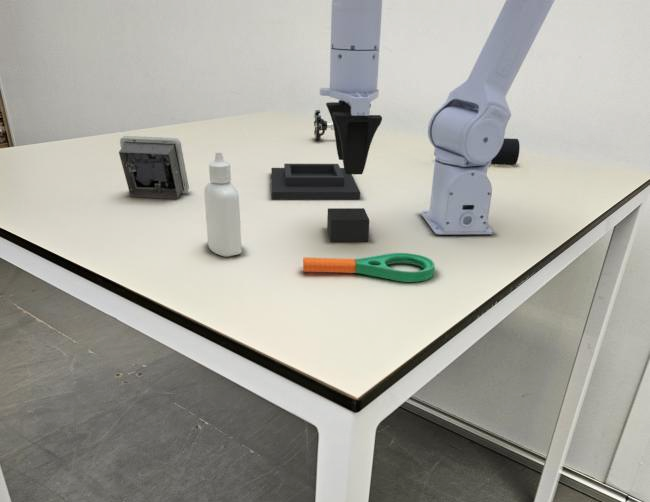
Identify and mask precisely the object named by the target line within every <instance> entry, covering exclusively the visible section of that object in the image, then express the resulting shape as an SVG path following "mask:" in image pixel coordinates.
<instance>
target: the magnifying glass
mask: <svg viewBox="0 0 650 502" xmlns="http://www.w3.org/2000/svg"><path fill="white" fill-rule="evenodd" d="M391 264H410V265H415V266H418V267H421V268H422V269H421V270H415V271H413V270H412V271H410V270H409V271H408V270H399V269H394V268H391V267H389V266H388V265H391ZM302 270H303V272H308V273H309V272H312V273H313V272H314V273H317V272H318V273H343V274H345V273H346V274H354V273H356V274H361V275H365V276H373V277H377V278H382V279H386V280H390V281H391V280H392V281H395V282H404V283H414V282H415V283H416V282H423V281H428V280H429V279H431V278H432V277H433V276H434V274H435V263H434V261H433V260H432V259H431V258H429V257H427V256H424V255H422V254H421V255H420V254H416V253H411V252H410V253H409V252H390V253H384V254H379V255H372V256H366V257H359V258H338V257H337V258H335V257H334V258H333V257H307V256H306V257H305V256H304V257H303V258H302Z"/></svg>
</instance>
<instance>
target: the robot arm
mask: <svg viewBox="0 0 650 502" xmlns="http://www.w3.org/2000/svg"><path fill="white" fill-rule="evenodd" d="M554 2H555V0H505V2H504V4H503V5H502V8H501V10H500V11H499V14H498V16H497V18H496V20H495V22H494V24H493V26H492V28H491V30H490V32H489V34H488V37H487V38H486V41H485V43H484V45H483V47H482V48H481V51H480V53H479V55H478V57H477V59H476V61H475V63H474V65H473V67H472V69H471V71H470V74H469V75H468V77H467V79H466V80H465V81H464V82H463V83H461V84H460V85H457V87H455V88H454V89H453V90H452V91H450V92H449V94H448V96H447V98H446V100H445V101H444V103H443V104H442V105H441V106H440V107H439V108H438V109H436V111H434V113H433V114H432V115H431V117H430V120H429V122H428V127H427V137H428V140H429V143H430V144H431V145H432V147H433V148H434V151H433V156H434V163H433V164H434V165H433V173H432V185H431V191H430V193H431V194H430V202H429V210H421V211H420V215H421V216H422V217H423V219H424V220H425V222H426V223H427V224H428V226H429V227H430V228H431V230H432V231H433V232H434V234H435V235H439V236H441V235H442V236H443V235H444V236H445V235H492V234H493V230H492V228H491V227H490V226H489V225H488V221H489V213H490V209H491V201H492V195H493V186H492V182H491V180H490V178H489V177H488V169H489V166H491V165H492V164H491V160H492V159H493V158H494V157H495V156H496V155H497V154H498V152H499V151H500V149H501V147H502V144H503V141H504V138H505V134H506V133H505V132H506V128H507V126H508V123H509V121H510V119H511V117H512V111H511V109H510V106H509V104H508V102H507V99H506V97H507V94H509V93H508V92H509V91H510V89H511V87H512V85H513V83H514V81H515V79H516V77H517V75H518V73H519V72H520V69H521V68H522V65H523V64H524V61H525V60H526V57H527V55H528V53H529V51H530V50H531V48H532V45H533V43H534V42H535V40H536V37H537V36H538V34H539V32H540V30H541V28H542V26H543V24H544V23H545V20H546V18H547V16H548V15H549V12H550V10H551V9H552V6H553V4H554ZM382 11H383V0H331V11H330V13H331V15H330V57H329V60H330V62H329V87H320V88H319V95H320V96H323V97H330V98H332V99H335V100H338V101H336V102H335V101H333V102H332V101H330V102H329V101H328V102H326V103H325V105H326V108H327V110H328V113H329V115H330V118H331V121H332V122H333V126H334V130H333V132H334V138H335V146H336V153H337V157H338V160H339V161H342V165H343V168H344V170H345V173H346V174H352V175H363V174H364V171H365V168H366V163H367V160H368V155H369V151H370V148H371V145H372V141H373V139H374V137H375V134H376V132H377V130H378V128H379V127H380V125H381V124H382V121H383V117H382V116H381V114H370V113H371V112H370V111H371V106H372V103H371V102H373V101H374V100H377V99H378V98H379V89H378V83H379V82H378V79H379V66H380V65H379V64H380V46H381V31H382V30H381V29H382V13H383V12H382Z"/></svg>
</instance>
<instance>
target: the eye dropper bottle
mask: <svg viewBox="0 0 650 502" xmlns="http://www.w3.org/2000/svg"><path fill="white" fill-rule="evenodd" d="M208 170H209V171H208V173H209V181H210V182H209V183H207V184H206V185H205V186H204V191H203V192H204V194H203V195H204V205H205V206H204V207H205V209H204V210H205V221H206V224H205V225H206V234H207V235H206V237H207V246H208V248H209V250H210V251H211V252H213V253H214V254H217V255H218V256H221V257H225V258H226V257H227V258H228V257H233V256H238V255H240V254H242V230H241V210H240V209H241V208H240V197H239V192H238V190H237V187H236V186H235V185H234V184H233V183H232V182H231V180H232V177H231V176H232V175H231V164H230V162H227V161H226V160H225V159H224V155H223V151H221V150H220V151H219V150H217V151H215V155H214V160H213V161H212V162H210V163H208Z"/></svg>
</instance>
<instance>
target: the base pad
mask: <svg viewBox="0 0 650 502" xmlns="http://www.w3.org/2000/svg"><path fill="white" fill-rule="evenodd" d="M283 166H284V167H271V200H360V199H361V191H360V188H359V187H358V185H357V183H356V181H355V178H354V176H353V174H346V173H345V170H344V167H340V165H339V163H284V164H283Z"/></svg>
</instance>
